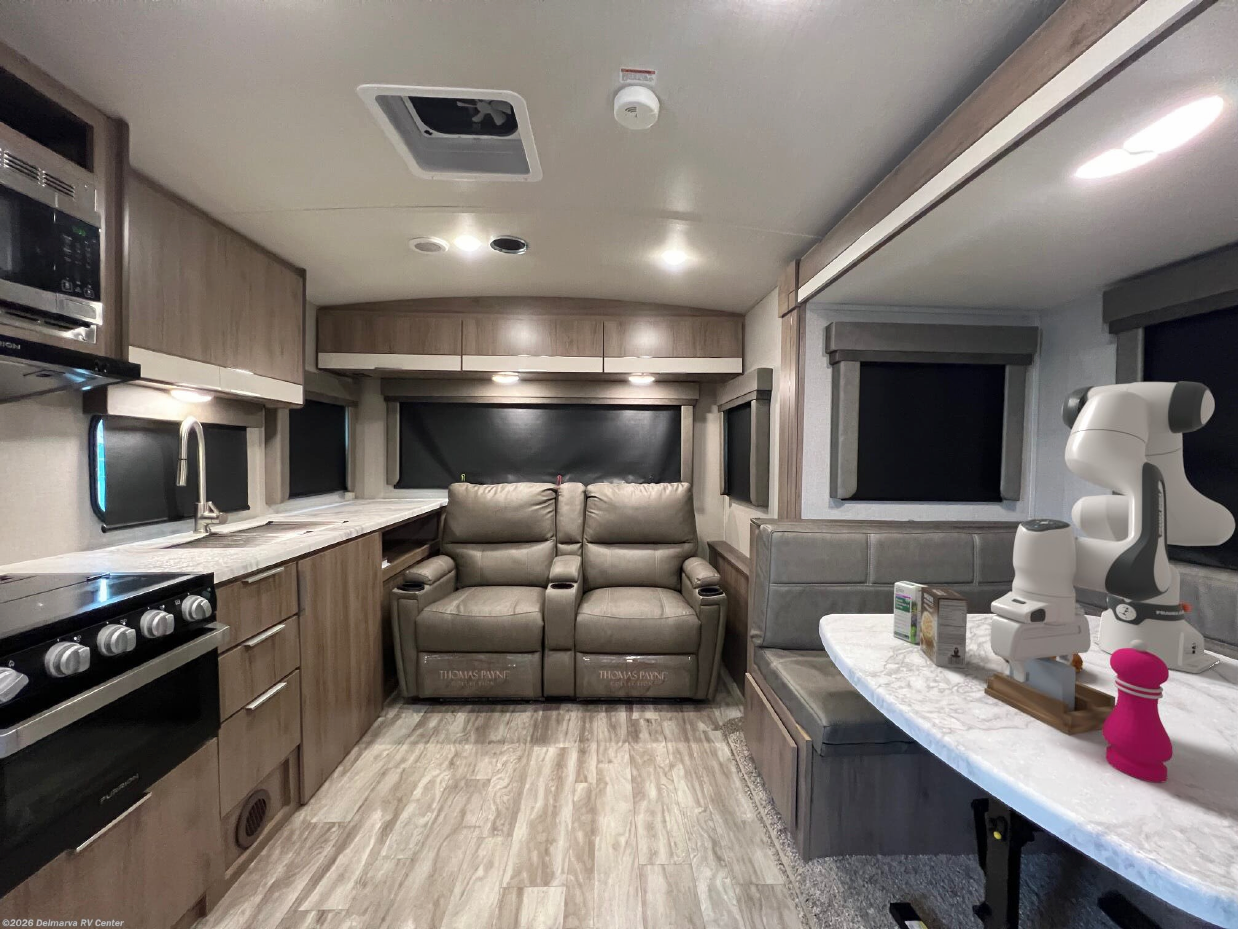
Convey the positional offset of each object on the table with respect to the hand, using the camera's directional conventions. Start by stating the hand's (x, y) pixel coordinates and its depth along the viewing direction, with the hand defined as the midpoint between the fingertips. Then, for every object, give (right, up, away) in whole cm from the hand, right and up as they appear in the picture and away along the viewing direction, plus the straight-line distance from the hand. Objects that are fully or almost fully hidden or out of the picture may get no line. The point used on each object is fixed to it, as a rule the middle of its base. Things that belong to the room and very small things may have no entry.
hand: (1040, 677), depth 87 cm
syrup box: (-3, -6, +34) cm, 35 cm away
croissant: (+18, -6, +20) cm, 28 cm away
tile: (0, -5, 0) cm, 5 cm away
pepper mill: (0, -7, -16) cm, 18 cm away
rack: (+3, -6, +1) cm, 7 cm away
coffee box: (-3, -6, +22) cm, 23 cm away
